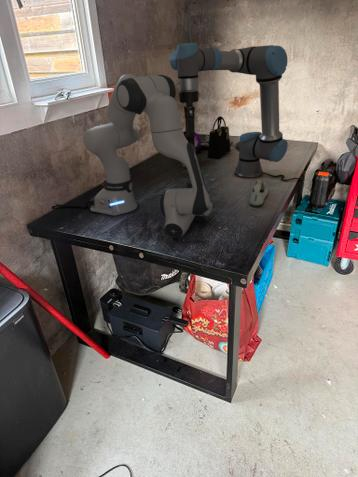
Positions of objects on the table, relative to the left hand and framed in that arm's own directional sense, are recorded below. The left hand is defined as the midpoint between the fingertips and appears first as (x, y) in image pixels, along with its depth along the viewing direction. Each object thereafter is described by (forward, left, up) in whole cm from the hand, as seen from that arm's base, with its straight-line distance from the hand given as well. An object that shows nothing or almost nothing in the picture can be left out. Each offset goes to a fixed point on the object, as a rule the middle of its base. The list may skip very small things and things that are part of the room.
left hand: (192, 199), depth 147 cm
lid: (0, -1, +26) cm, 26 cm away
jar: (0, -1, -6) cm, 6 cm away
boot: (-21, +71, -6) cm, 75 cm away
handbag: (-4, +92, -6) cm, 92 cm away
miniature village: (+19, +115, -6) cm, 117 cm away
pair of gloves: (-17, +117, -6) cm, 119 cm away
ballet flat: (+28, +22, -6) cm, 35 cm away
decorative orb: (-25, +94, -6) cm, 97 cm away
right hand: (0, -1, +22) cm, 22 cm away
